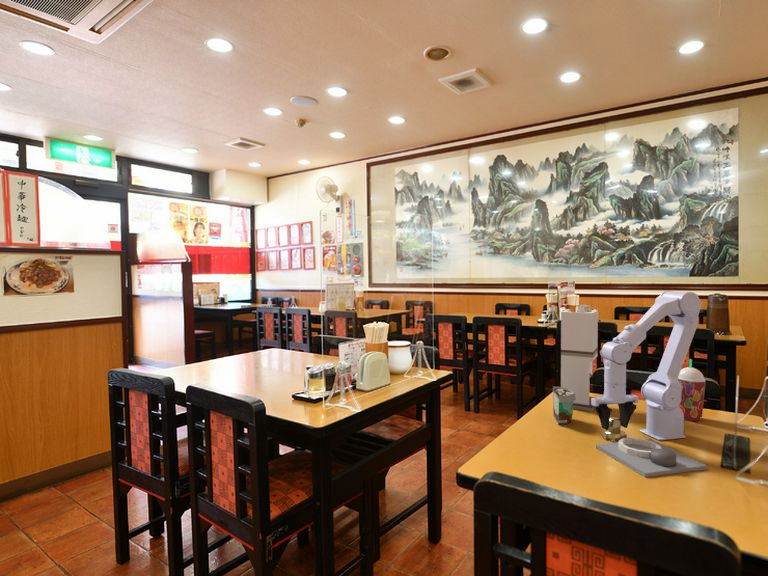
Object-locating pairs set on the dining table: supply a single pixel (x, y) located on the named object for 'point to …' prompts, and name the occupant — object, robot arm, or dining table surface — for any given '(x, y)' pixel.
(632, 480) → the dining table surface
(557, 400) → the food container
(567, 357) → the white stepped column
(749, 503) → the dining table surface
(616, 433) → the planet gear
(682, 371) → the smoothie
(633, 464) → the carrier plate
